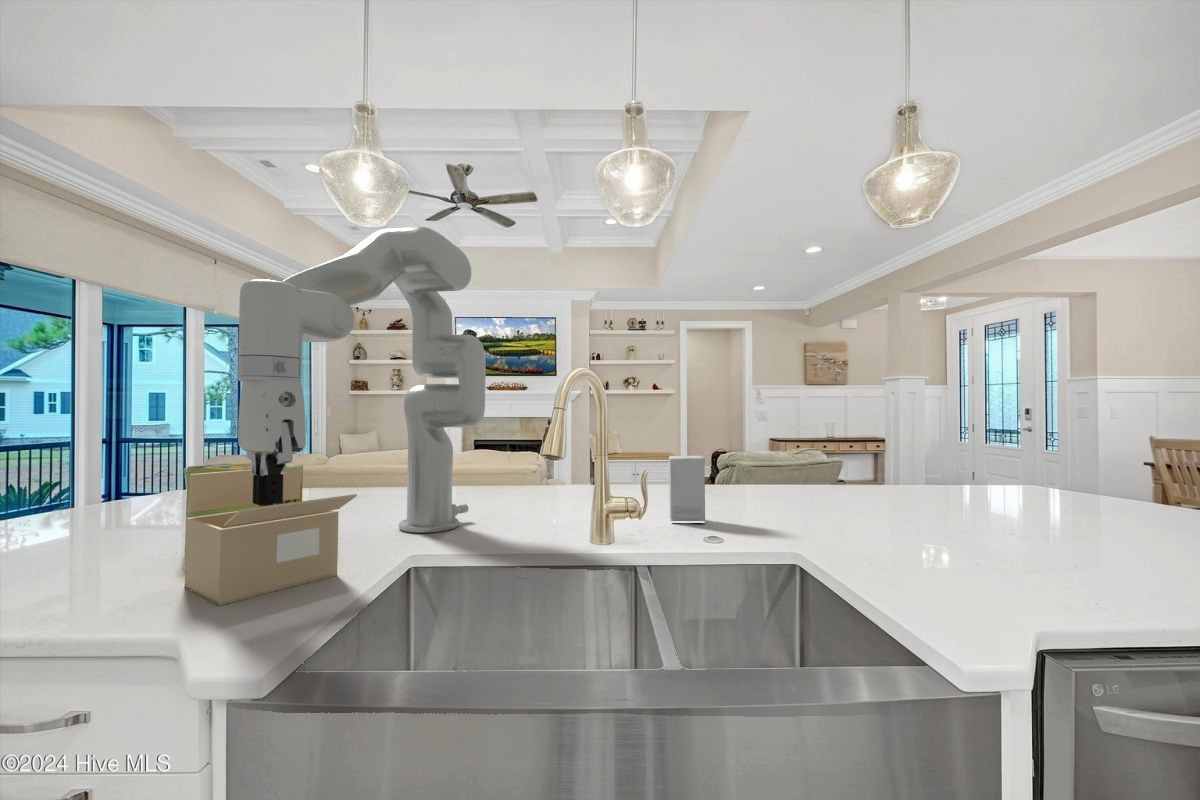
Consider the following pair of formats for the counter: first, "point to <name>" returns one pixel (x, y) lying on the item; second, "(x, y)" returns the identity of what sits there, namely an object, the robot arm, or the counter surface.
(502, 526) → the counter surface
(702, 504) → the skincare box
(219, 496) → the far flap
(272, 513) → the near flap
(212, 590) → the carton
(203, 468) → the protein box
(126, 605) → the counter surface
